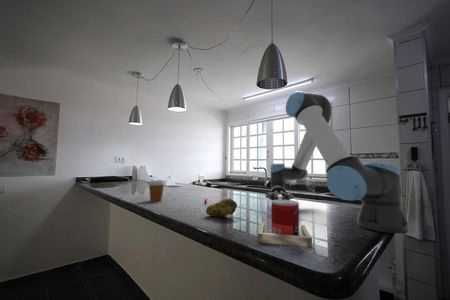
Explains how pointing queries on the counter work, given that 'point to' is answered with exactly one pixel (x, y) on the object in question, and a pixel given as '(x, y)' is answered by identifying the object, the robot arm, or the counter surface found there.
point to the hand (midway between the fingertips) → (280, 199)
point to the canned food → (285, 217)
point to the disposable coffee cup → (156, 190)
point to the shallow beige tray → (285, 237)
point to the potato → (222, 208)
